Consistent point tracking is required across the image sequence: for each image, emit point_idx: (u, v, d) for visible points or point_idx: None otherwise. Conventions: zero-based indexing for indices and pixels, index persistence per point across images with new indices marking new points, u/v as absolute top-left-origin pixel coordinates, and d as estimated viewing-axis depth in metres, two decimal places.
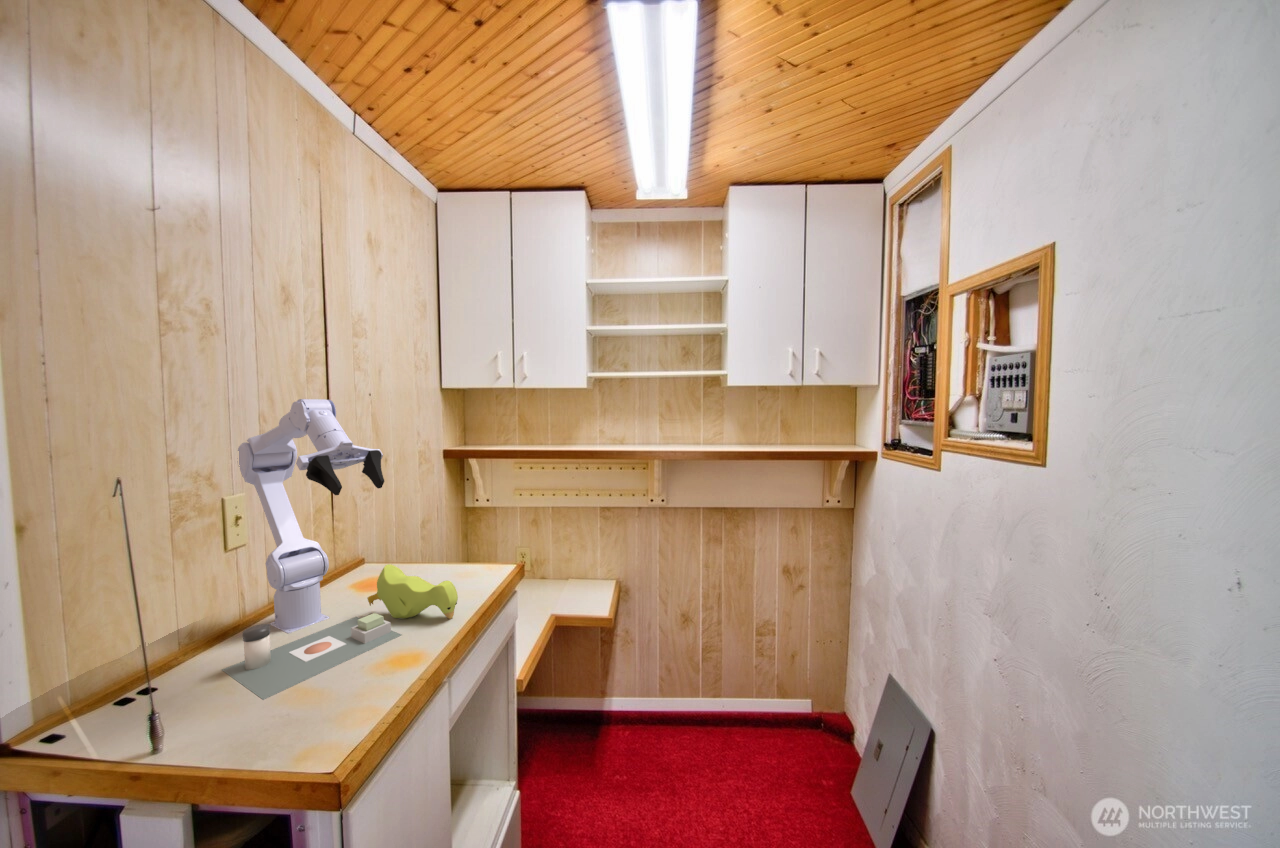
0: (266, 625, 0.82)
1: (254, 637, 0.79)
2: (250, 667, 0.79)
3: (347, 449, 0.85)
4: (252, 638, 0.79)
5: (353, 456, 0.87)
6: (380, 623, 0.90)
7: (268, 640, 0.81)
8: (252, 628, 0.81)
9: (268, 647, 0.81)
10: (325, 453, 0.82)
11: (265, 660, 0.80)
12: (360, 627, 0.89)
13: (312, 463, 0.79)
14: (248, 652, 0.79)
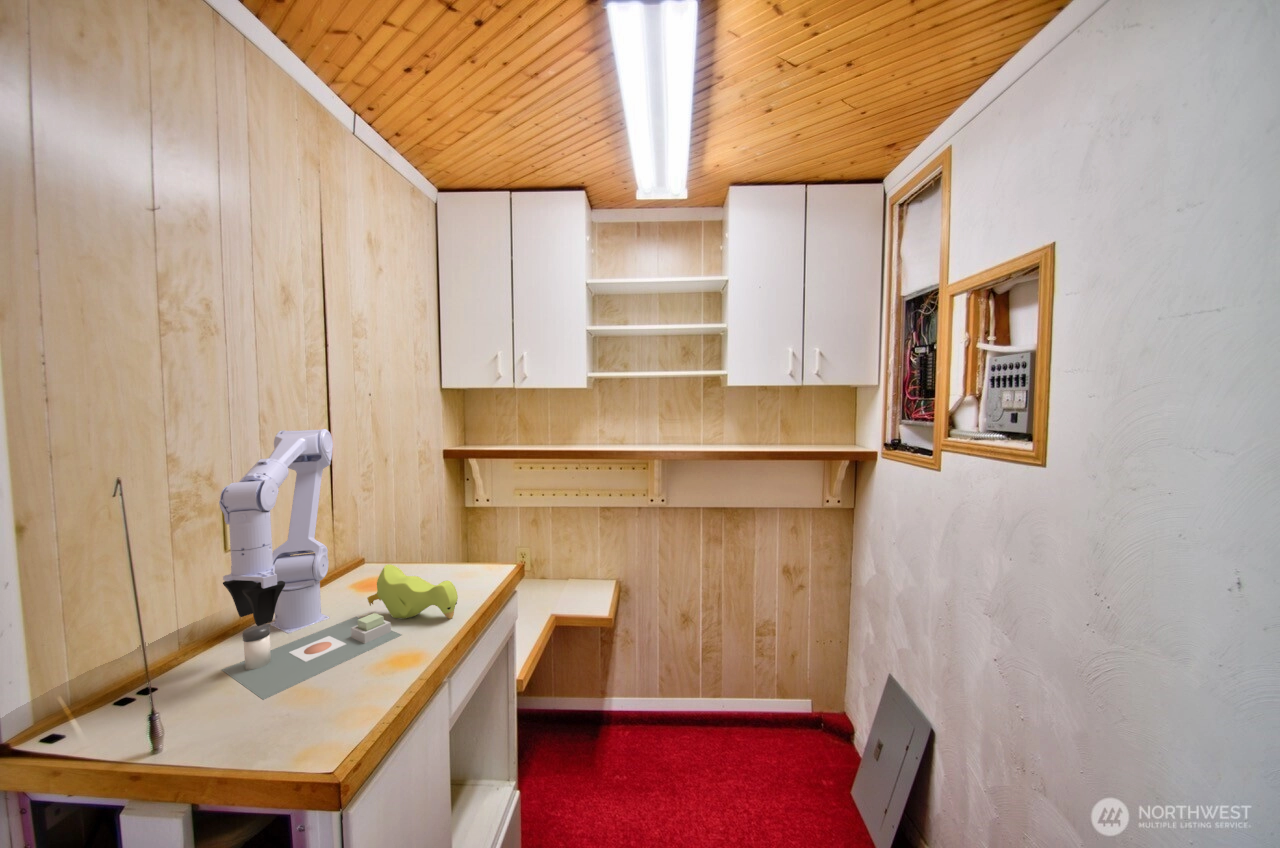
0: (266, 625, 0.82)
1: (254, 637, 0.79)
2: (250, 667, 0.79)
3: None
4: (252, 638, 0.79)
5: None
6: (380, 623, 0.90)
7: (268, 640, 0.81)
8: (252, 628, 0.81)
9: (268, 647, 0.81)
10: None
11: (265, 660, 0.80)
12: (360, 627, 0.89)
13: None
14: (248, 652, 0.79)
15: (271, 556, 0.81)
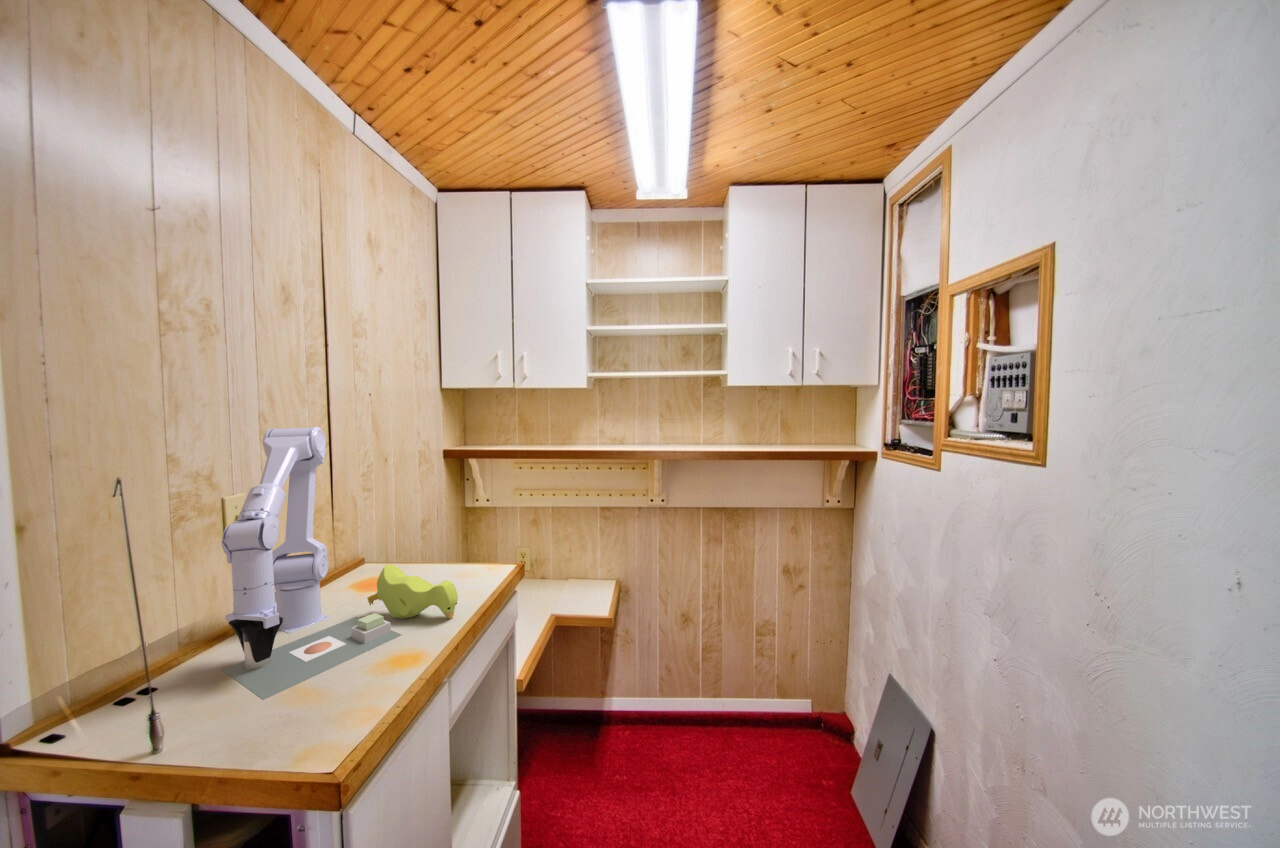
0: None
1: None
2: (250, 667, 0.79)
3: None
4: None
5: None
6: (380, 623, 0.90)
7: None
8: None
9: None
10: None
11: (265, 660, 0.80)
12: (360, 627, 0.89)
13: None
14: (248, 652, 0.79)
15: (273, 593, 0.81)
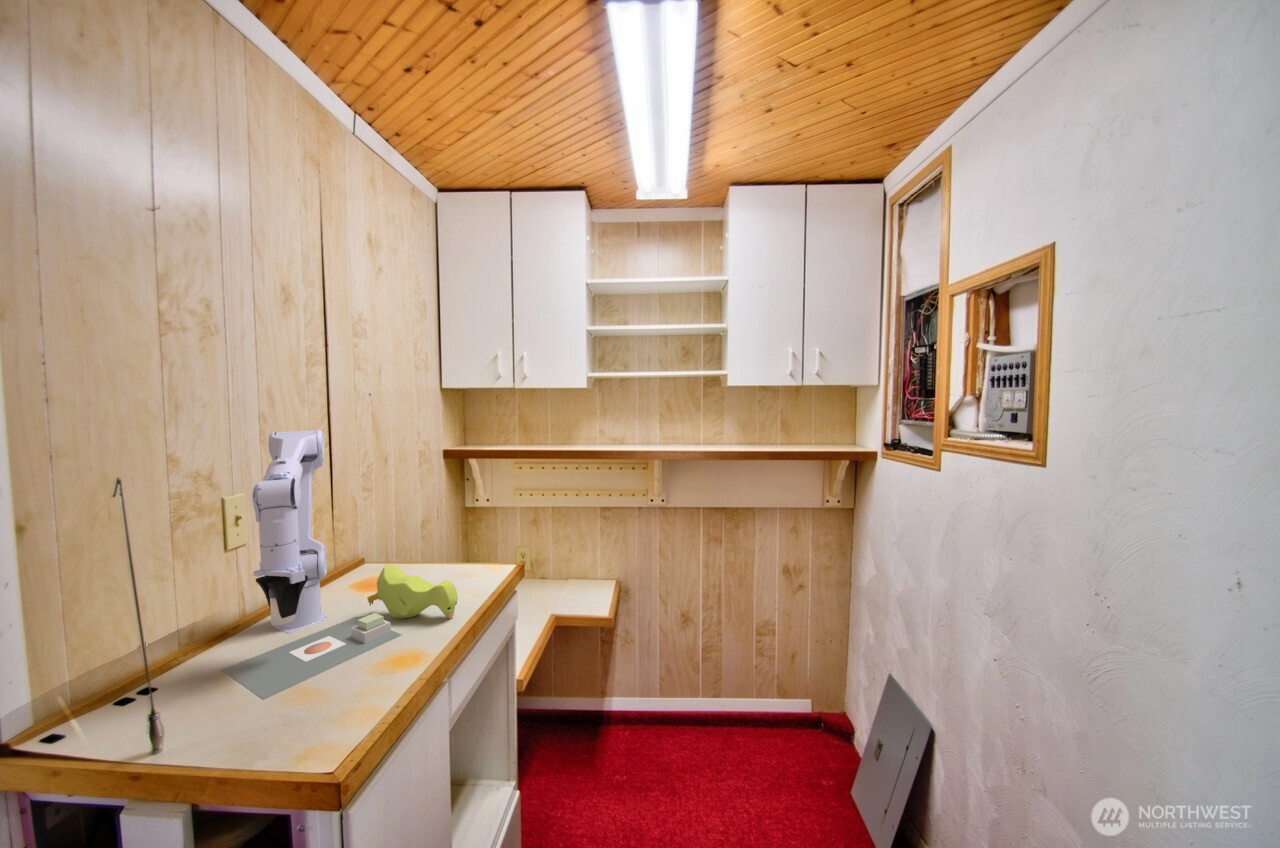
0: None
1: None
2: (276, 623, 0.81)
3: None
4: None
5: None
6: (380, 623, 0.90)
7: None
8: None
9: None
10: None
11: (290, 617, 0.82)
12: (360, 627, 0.89)
13: None
14: (274, 608, 0.81)
15: (298, 552, 0.83)
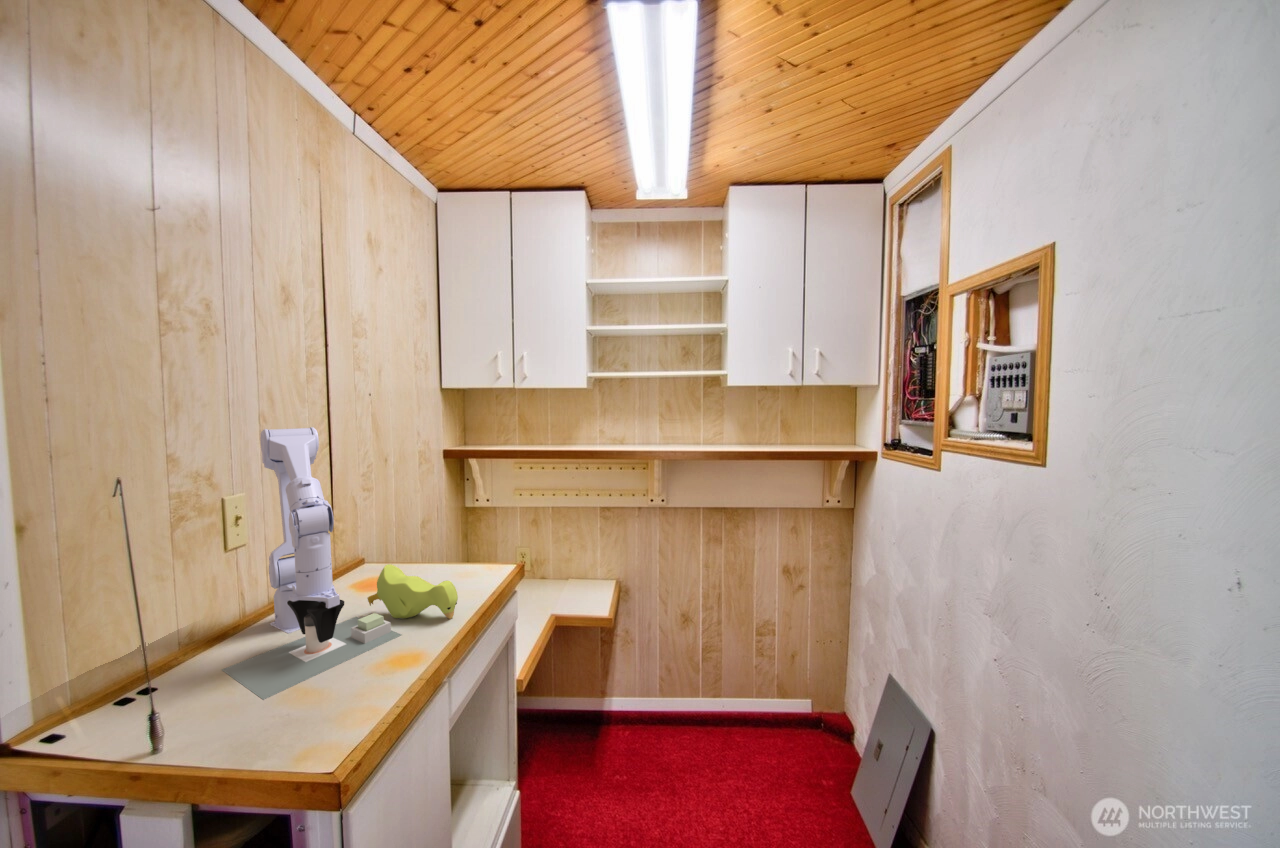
0: None
1: None
2: (311, 650, 0.84)
3: None
4: (313, 623, 0.84)
5: None
6: (380, 623, 0.90)
7: None
8: None
9: None
10: None
11: (324, 644, 0.85)
12: (360, 627, 0.89)
13: None
14: (309, 636, 0.84)
15: (331, 577, 0.86)
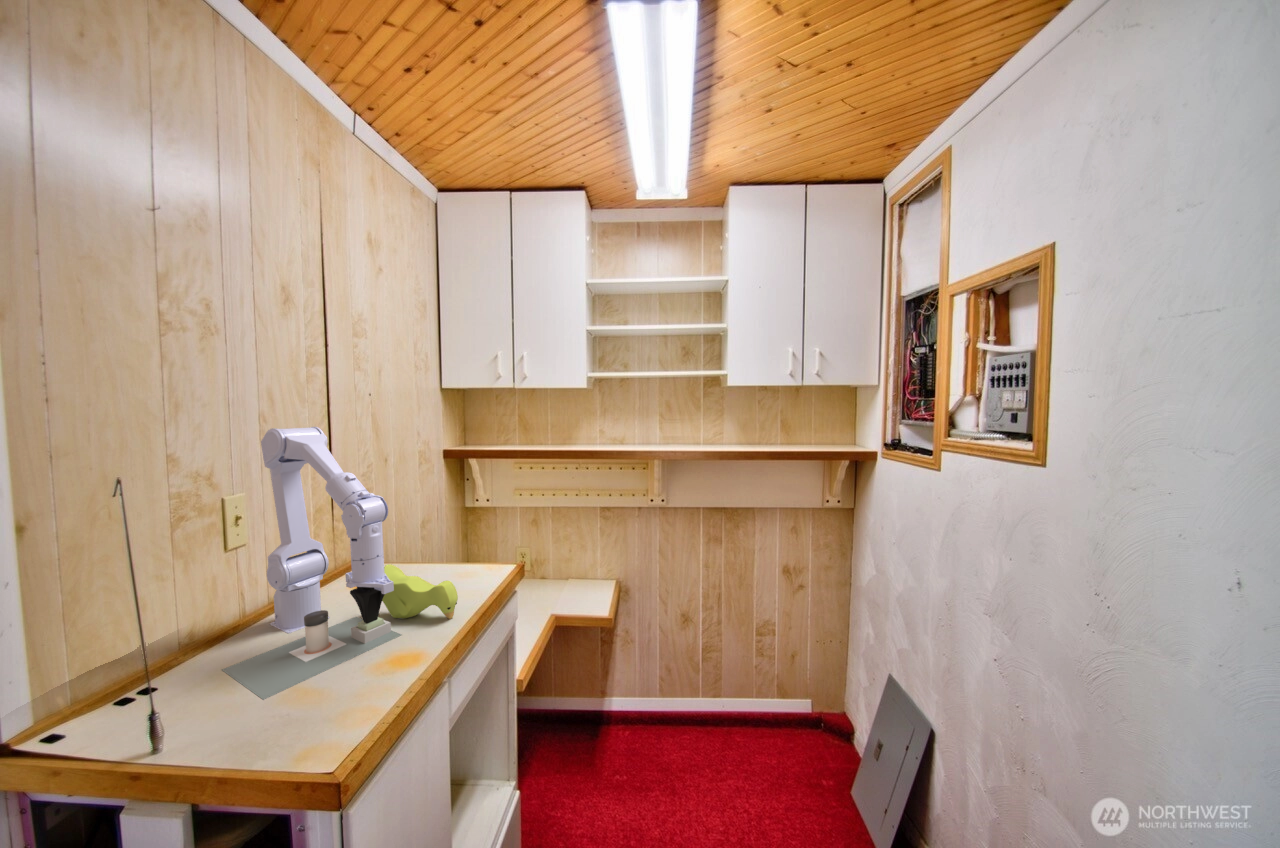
0: (324, 611, 0.87)
1: (315, 622, 0.84)
2: (311, 650, 0.84)
3: None
4: (313, 623, 0.84)
5: None
6: None
7: (327, 625, 0.86)
8: (312, 614, 0.86)
9: (327, 632, 0.86)
10: None
11: (324, 644, 0.85)
12: None
13: None
14: (309, 636, 0.84)
15: (383, 565, 0.91)
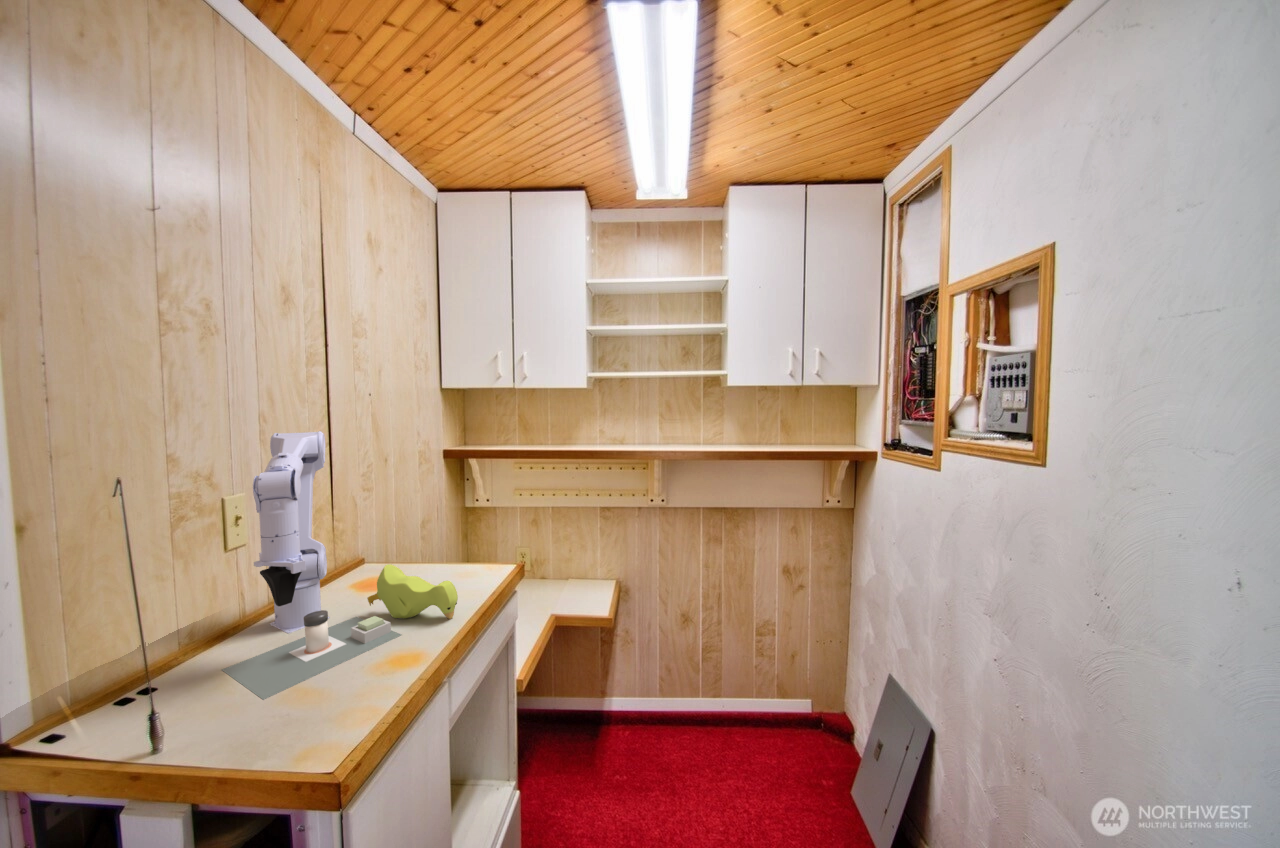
0: (324, 611, 0.87)
1: (314, 622, 0.84)
2: (311, 650, 0.84)
3: None
4: (313, 623, 0.84)
5: None
6: None
7: (326, 625, 0.86)
8: (312, 614, 0.86)
9: (326, 632, 0.86)
10: None
11: (324, 644, 0.85)
12: None
13: None
14: (309, 636, 0.84)
15: (298, 543, 0.84)
